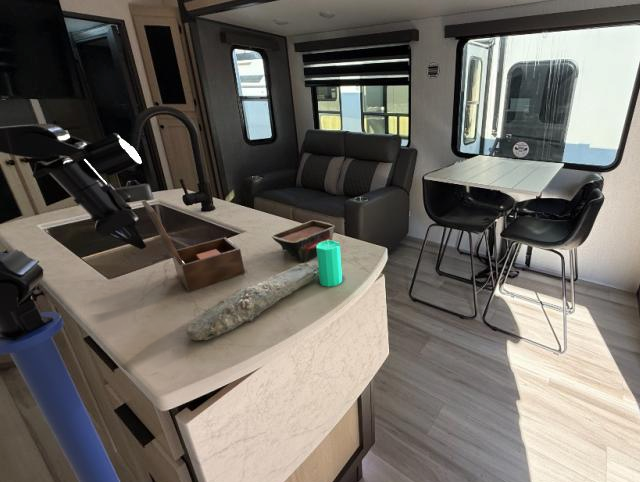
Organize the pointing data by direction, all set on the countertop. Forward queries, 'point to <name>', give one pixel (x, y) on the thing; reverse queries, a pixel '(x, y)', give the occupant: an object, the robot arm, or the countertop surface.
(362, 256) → the countertop surface
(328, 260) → the candle
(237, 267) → the chest
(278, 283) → the elongated rock
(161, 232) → the chest lid
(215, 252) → the block
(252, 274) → the countertop surface
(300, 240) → the baking dish
